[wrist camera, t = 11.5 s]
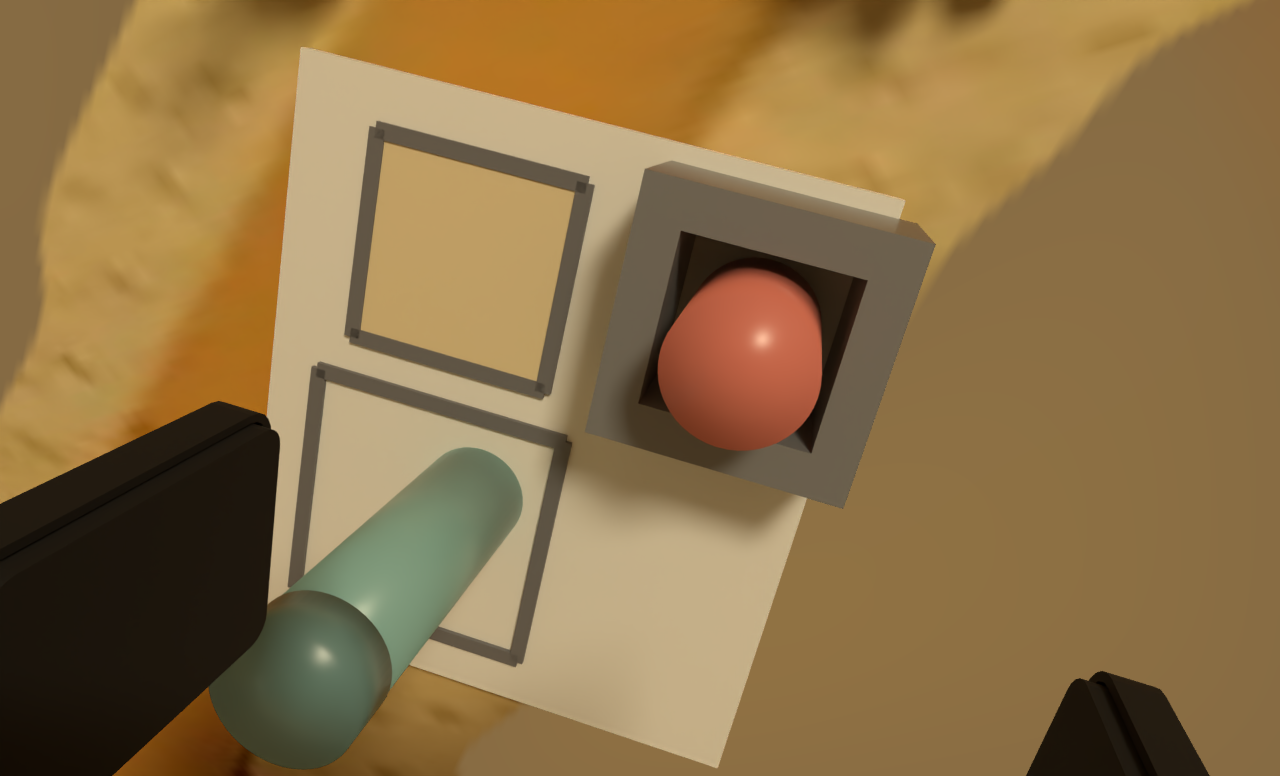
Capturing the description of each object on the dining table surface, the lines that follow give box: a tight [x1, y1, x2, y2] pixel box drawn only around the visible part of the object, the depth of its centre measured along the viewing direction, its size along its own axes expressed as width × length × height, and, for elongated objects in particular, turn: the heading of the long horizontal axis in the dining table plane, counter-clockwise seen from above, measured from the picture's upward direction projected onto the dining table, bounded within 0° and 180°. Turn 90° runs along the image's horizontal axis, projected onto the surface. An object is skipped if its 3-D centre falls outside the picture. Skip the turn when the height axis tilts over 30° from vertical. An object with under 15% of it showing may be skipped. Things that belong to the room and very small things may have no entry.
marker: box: [209, 447, 523, 769], centre depth 24 cm, size 4×4×11 cm
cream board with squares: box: [267, 47, 905, 768], centre depth 28 cm, size 18×20×1 cm
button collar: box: [585, 160, 936, 509], centre depth 24 cm, size 7×7×4 cm
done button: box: [658, 257, 822, 451], centre depth 22 cm, size 4×4×5 cm
